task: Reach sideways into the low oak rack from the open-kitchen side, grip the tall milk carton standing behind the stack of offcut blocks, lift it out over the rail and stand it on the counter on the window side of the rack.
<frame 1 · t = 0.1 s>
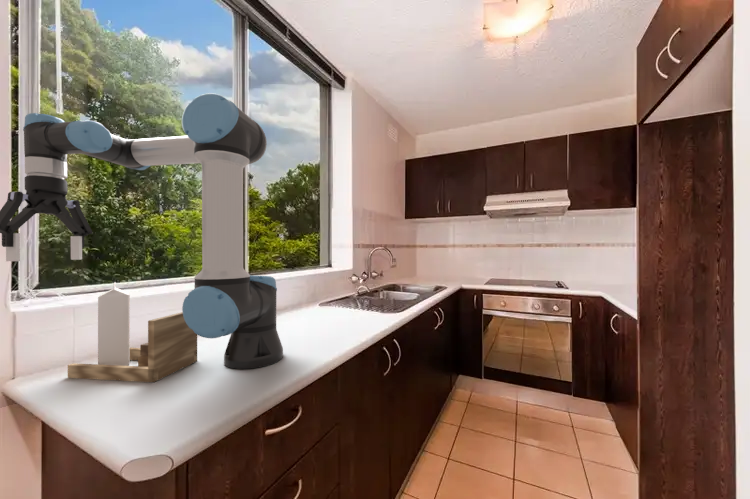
hand: (47, 260, 79), 28 cm above the countertop, tool pointing down, fingers open, 13 cm apart
offcut b: (158, 361, 78), point 2 cm above the countertop, touching offcut a, offcut c
offcut a: (158, 371, 78), on the countertop, touching offcut b
rack: (136, 368, 79), on the countertop
offcut c: (159, 351, 78), point 4 cm above the countertop, touching offcut b
milk: (114, 368, 80), on the countertop
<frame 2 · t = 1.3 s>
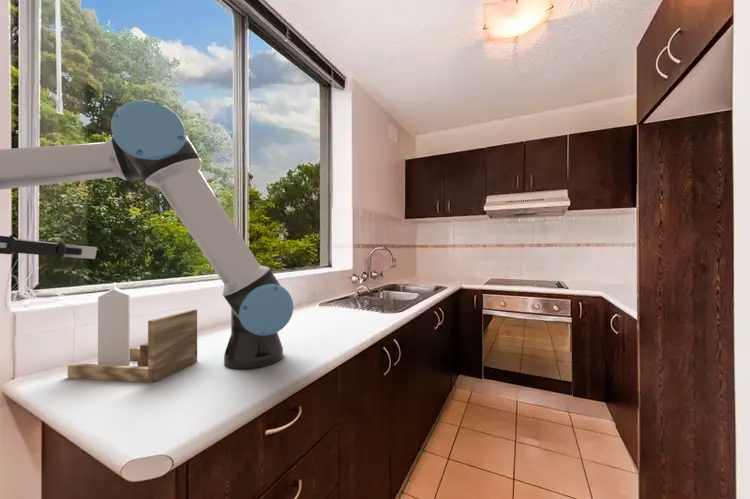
hand: (75, 250, 73), 30 cm above the countertop, tool horizontal, fingers open, 13 cm apart
offcut b: (157, 362, 78), point 2 cm above the countertop, touching offcut a
offcut c: (158, 352, 78), point 4 cm above the countertop
everything else where it was.
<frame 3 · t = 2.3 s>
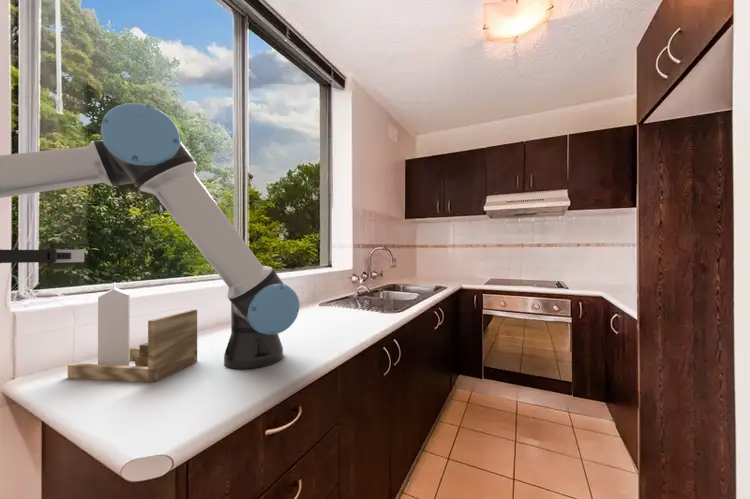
hand: (57, 256, 70), 29 cm above the countertop, tool horizontal, fingers open, 13 cm apart
offcut b: (156, 362, 78), point 2 cm above the countertop, touching offcut a, offcut c
offcut c: (158, 352, 78), point 4 cm above the countertop, touching offcut b
everything else where it was.
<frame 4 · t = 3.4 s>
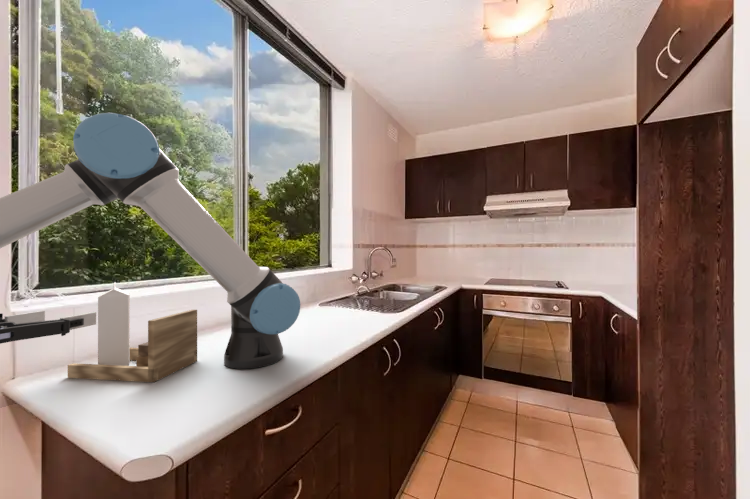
hand: (69, 317, 70), 15 cm above the countertop, tool horizontal, fingers open, 13 cm apart
nothing on the countertop moved.
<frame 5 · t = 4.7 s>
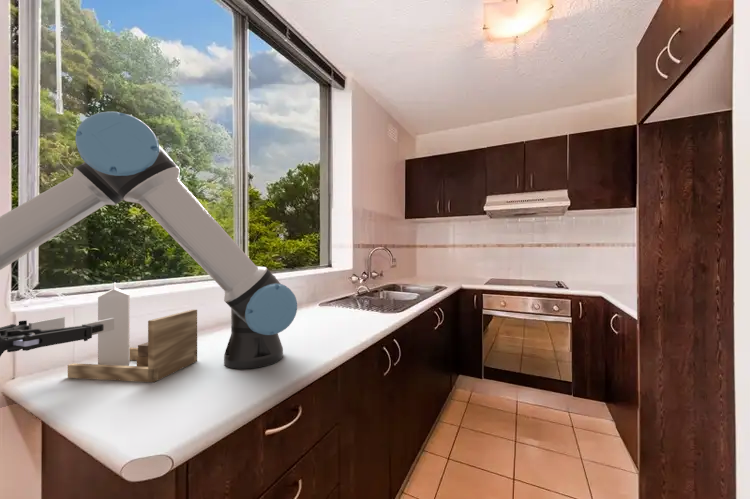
hand: (88, 323, 74), 13 cm above the countertop, tool horizontal, fingers open, 13 cm apart
nothing on the countertop moved.
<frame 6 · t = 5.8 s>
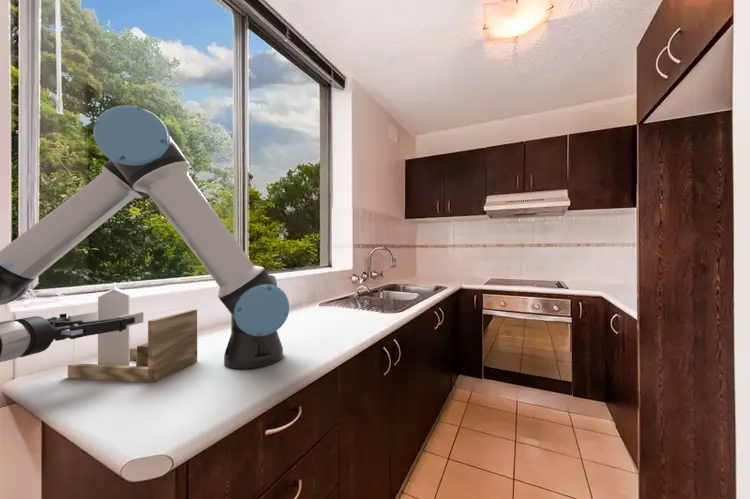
hand: (119, 316, 81), 13 cm above the countertop, tool horizontal, fingers open, 13 cm apart
nothing on the countertop moved.
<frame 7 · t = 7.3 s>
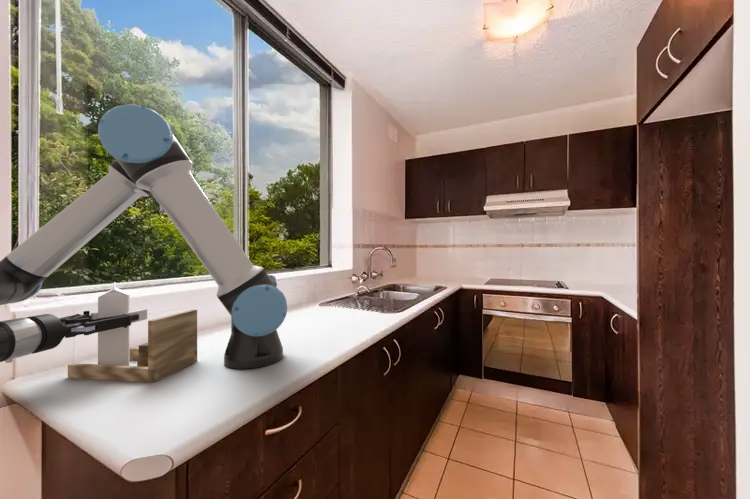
hand: (131, 313, 84), 13 cm above the countertop, tool horizontal, fingers closed on milk, 8 cm apart
offcut b: (157, 362, 78), point 2 cm above the countertop
offcut a: (156, 372, 78), on the countertop
offcut c: (157, 352, 78), point 4 cm above the countertop
milk: (114, 368, 80), on the countertop, touching gripper
when the fingers open (14 cm above the countertop, at t = 12.8 s): milk drops 1 cm, on the countertop.
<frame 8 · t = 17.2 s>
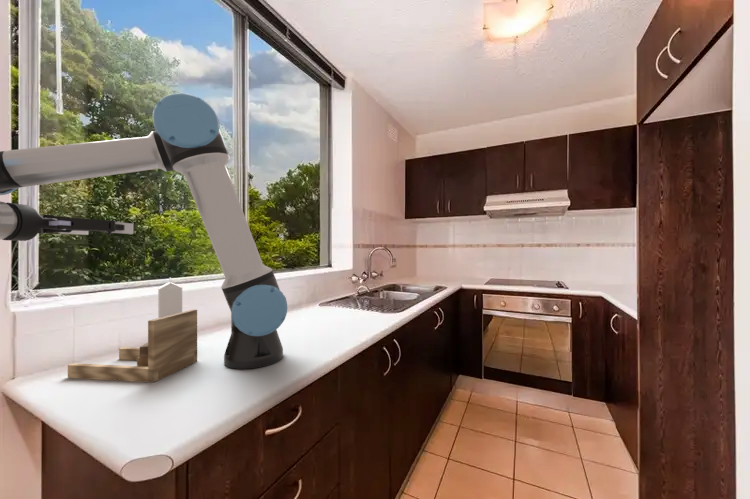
hand: (109, 229, 82), 36 cm above the countertop, tool horizontal, fingers open, 13 cm apart
offcut b: (156, 362, 77), point 2 cm above the countertop, touching offcut a, offcut c
offcut a: (155, 372, 77), on the countertop, touching offcut b
offcut c: (156, 352, 78), point 4 cm above the countertop, touching offcut b
milk: (170, 348, 96), on the countertop
at the end: milk inside the target area (0.5 cm from its centre), on the countertop; milk tilted 0°; the gripper is holding nothing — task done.
